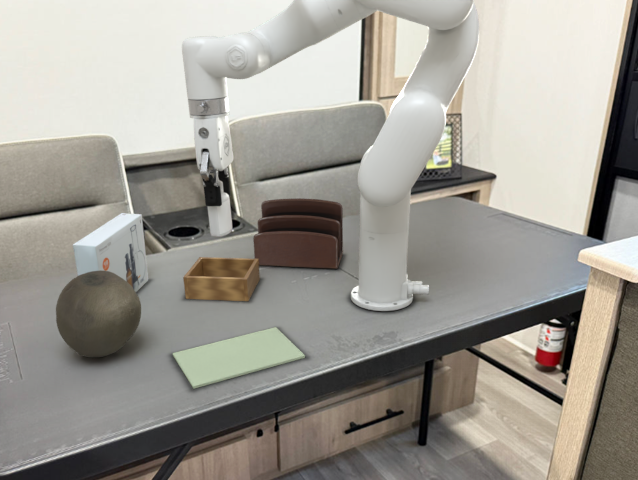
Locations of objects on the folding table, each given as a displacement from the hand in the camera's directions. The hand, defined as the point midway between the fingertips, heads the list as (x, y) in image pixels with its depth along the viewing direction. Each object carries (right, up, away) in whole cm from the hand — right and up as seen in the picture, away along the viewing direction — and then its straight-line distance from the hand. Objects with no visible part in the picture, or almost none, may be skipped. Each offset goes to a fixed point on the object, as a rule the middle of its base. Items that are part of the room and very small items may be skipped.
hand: (218, 200), depth 121 cm
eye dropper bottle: (0, -6, +3) cm, 7 cm away
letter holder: (+17, -11, +24) cm, 31 cm away
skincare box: (-22, -20, +7) cm, 30 cm away
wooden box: (0, -18, +10) cm, 20 cm away
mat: (+5, -30, -16) cm, 34 cm away
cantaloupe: (-19, -30, -13) cm, 37 cm away
